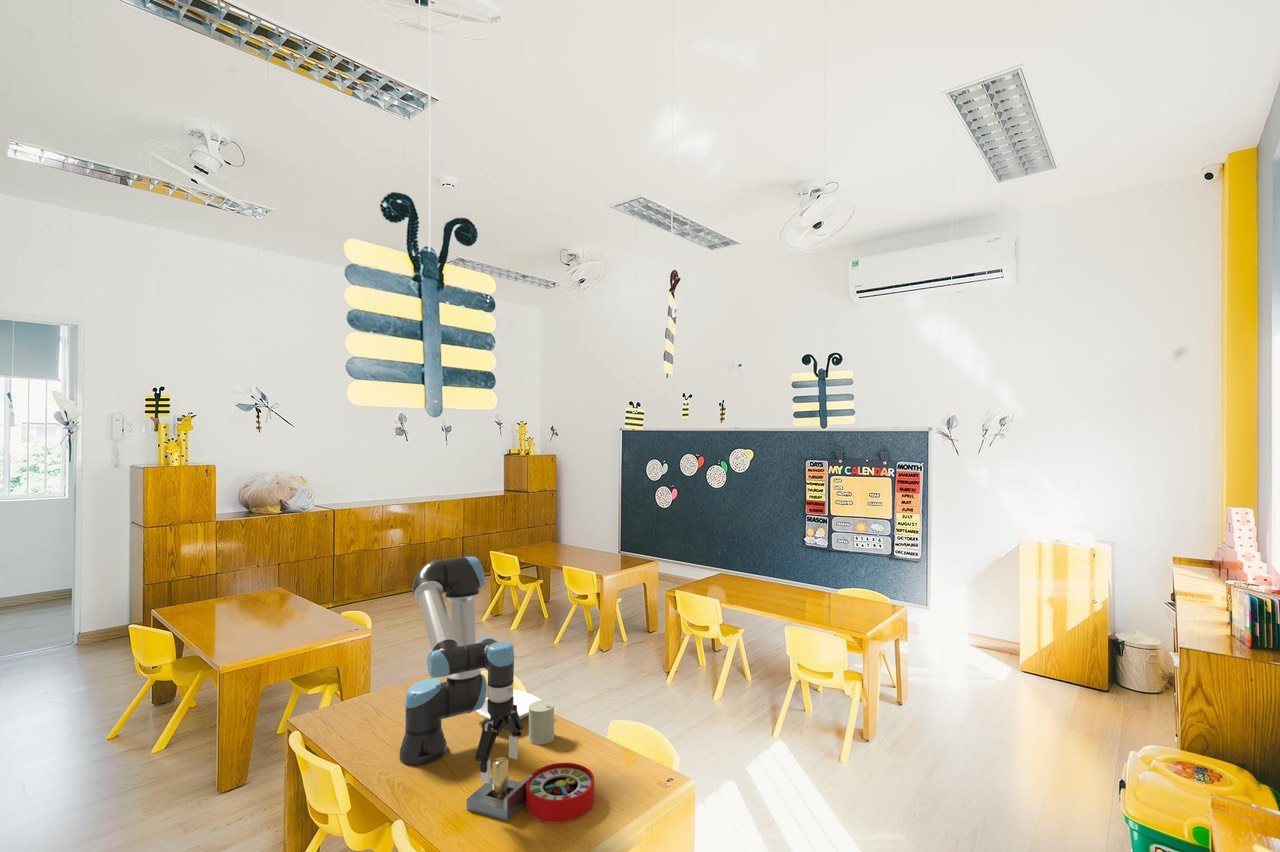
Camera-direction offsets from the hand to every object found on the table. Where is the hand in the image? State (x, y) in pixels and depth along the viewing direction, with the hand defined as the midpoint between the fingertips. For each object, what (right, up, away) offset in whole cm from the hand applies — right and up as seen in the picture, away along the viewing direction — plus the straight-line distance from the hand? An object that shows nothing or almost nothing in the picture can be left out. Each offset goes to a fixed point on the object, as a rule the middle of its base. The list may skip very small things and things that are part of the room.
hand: (499, 769), depth 173 cm
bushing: (0, -9, -1) cm, 9 cm away
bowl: (-9, -11, +52) cm, 54 cm away
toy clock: (+18, -9, 0) cm, 20 cm away
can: (+6, -11, +37) cm, 39 cm away
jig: (0, -9, -1) cm, 9 cm away
